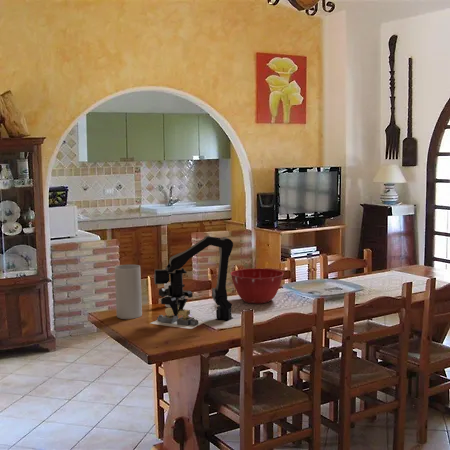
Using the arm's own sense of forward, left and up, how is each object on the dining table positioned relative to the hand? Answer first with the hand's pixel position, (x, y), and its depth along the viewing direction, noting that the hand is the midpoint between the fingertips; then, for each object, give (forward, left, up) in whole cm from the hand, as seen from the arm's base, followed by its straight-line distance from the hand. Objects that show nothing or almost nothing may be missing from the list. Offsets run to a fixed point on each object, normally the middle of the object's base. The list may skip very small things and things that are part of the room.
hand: (177, 315), depth 299 cm
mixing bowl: (-15, -56, -4) cm, 58 cm away
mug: (+21, -29, -4) cm, 36 cm away
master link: (0, 0, -2) cm, 2 cm away
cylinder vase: (+29, -1, -4) cm, 29 cm away
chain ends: (0, 0, -4) cm, 4 cm away
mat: (0, 0, -4) cm, 4 cm away
